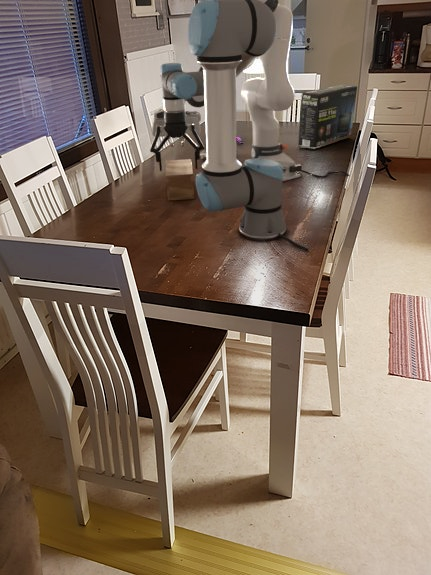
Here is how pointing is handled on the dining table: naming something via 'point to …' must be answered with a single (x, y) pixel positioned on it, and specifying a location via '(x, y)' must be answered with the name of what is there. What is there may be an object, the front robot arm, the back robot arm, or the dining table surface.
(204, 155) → the fossil
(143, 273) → the dining table surface
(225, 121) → the front robot arm
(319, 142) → the router box
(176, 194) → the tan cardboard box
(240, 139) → the handgun
